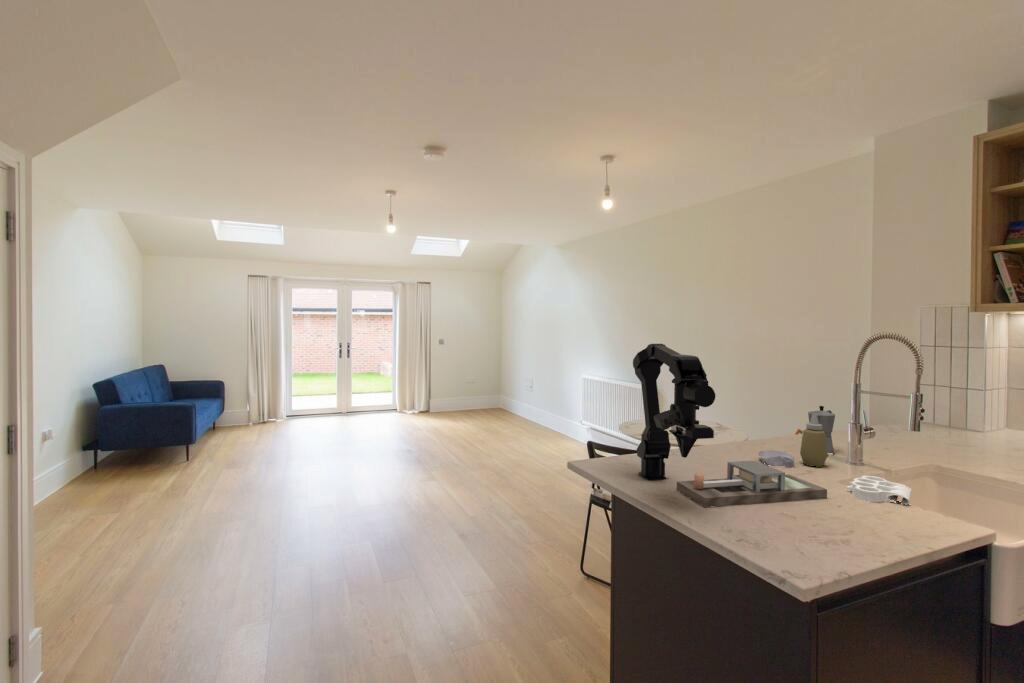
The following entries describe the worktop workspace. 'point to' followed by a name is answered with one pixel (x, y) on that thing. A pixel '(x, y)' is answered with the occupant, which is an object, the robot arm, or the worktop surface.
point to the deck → (752, 493)
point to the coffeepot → (825, 425)
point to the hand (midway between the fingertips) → (684, 457)
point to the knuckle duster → (879, 490)
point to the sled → (729, 483)
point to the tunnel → (756, 473)
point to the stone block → (776, 458)
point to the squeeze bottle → (813, 444)
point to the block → (749, 477)
